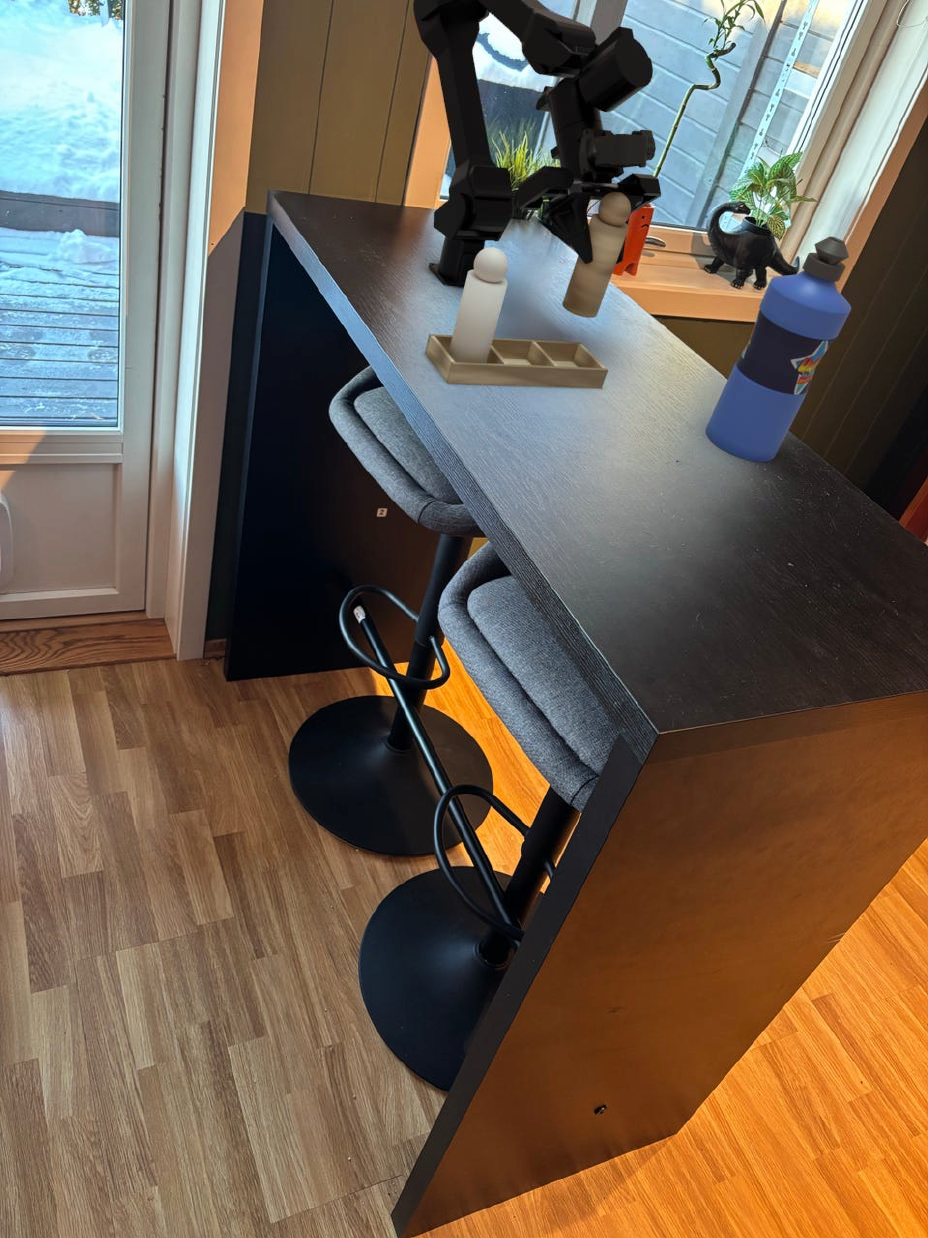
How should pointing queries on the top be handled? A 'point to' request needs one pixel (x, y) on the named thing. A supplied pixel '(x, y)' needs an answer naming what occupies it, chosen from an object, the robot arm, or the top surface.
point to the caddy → (521, 364)
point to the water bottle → (781, 356)
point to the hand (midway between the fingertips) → (604, 262)
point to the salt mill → (480, 307)
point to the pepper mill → (599, 256)
